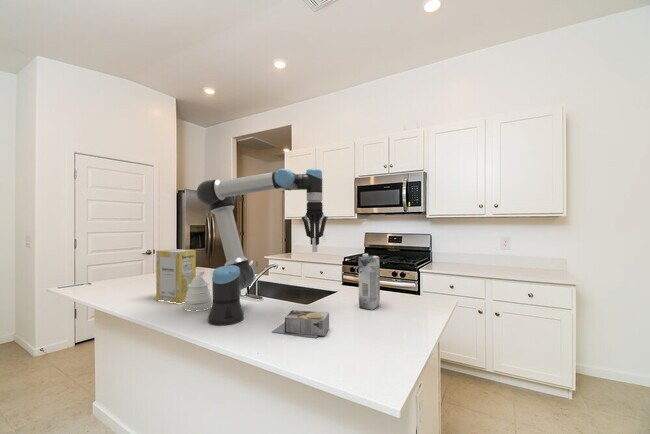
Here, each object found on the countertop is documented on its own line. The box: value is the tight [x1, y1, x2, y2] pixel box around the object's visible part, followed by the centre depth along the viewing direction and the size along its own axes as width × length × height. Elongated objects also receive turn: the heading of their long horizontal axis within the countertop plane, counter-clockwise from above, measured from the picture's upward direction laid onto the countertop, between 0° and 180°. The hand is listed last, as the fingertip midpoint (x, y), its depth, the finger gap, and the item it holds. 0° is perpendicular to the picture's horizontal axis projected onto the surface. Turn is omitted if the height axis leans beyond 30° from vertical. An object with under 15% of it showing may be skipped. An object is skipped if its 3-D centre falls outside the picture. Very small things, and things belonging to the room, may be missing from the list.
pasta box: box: [155, 248, 197, 303], centre depth 167 cm, size 18×10×28 cm, turn 66°
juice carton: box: [357, 253, 381, 311], centre depth 151 cm, size 9×10×27 cm
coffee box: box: [284, 309, 330, 337], centre depth 119 cm, size 9×6×16 cm
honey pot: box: [184, 271, 213, 312], centre depth 153 cm, size 13×13×18 cm
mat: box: [271, 321, 320, 340], centre depth 121 cm, size 19×14×1 cm
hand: (314, 251), depth 141 cm, fingers closed
